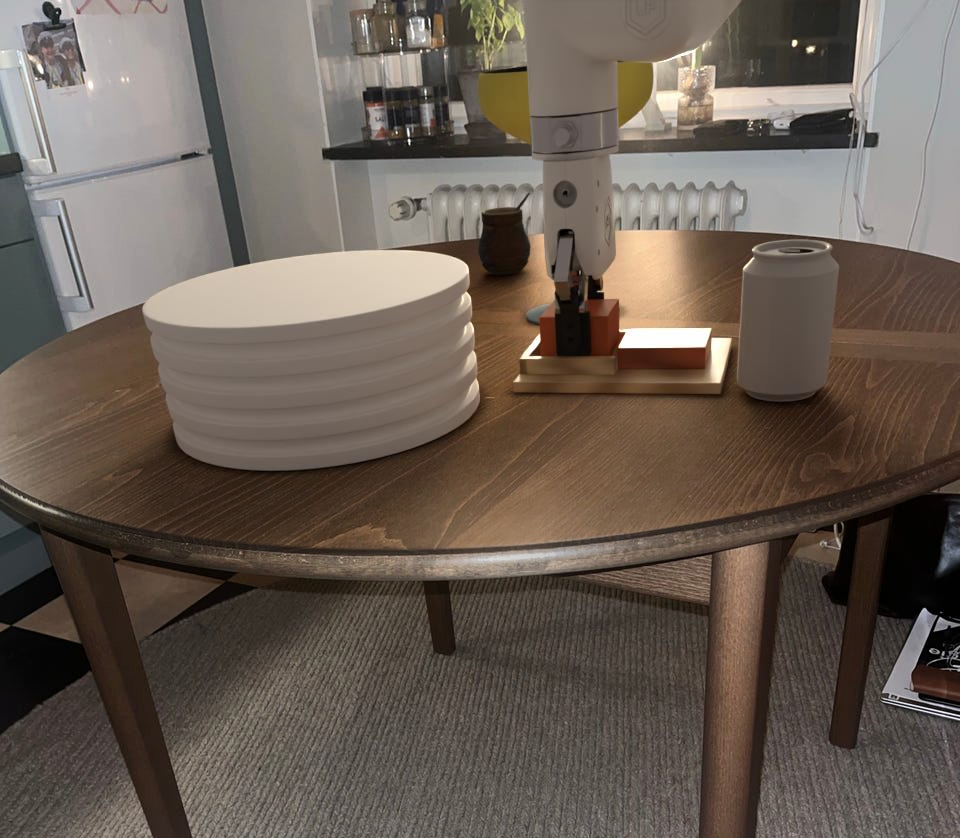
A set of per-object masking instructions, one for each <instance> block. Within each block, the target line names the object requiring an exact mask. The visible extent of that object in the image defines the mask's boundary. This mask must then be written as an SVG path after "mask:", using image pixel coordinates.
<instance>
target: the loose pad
mask: <svg viewBox="0 0 960 838" xmlns="http://www.w3.org/2000/svg"><path fill="white" fill-rule="evenodd" d="M550 303H551V305H550V306H549V307H548V308H547V309H546V310H545V311H544V313H543V314H542V315H541V316H540V317H539V324H538V325H539V334H540V342H541V356H558V355H557V353H556V333H555V299H554V300H552V302H550ZM619 308H620V298H604V299H588V300H587V311H590V319H591V354H590V355H589V356H611V354H612V352H613V351H614V349H615V347H616V345H617V344H618V342H619V340H620V338H619V330H620V310H619Z"/></svg>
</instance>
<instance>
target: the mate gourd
mask: <svg viewBox="0 0 960 838" xmlns="http://www.w3.org/2000/svg"><path fill="white" fill-rule="evenodd" d="M530 194H531V192H527V193H526V194H525V196H524V197H523V199H522V200H521V201H520V202H519V204H518V205H517V206H512V207H511V206H503V207H494V208H488V209H485V210H483V211H481V223H482V230H481V234H480V238H479V241H478V249H477V251H478V256H479V260H480V262H481V265H482V267H483V269H484V270H485V271H487V273H489V275H492V276H509V275H515V274H519V273H521V272H522V271H523V270H524V269H525V267H526V266H527V265H528V264H529V258H530V256H531V242H530V241H531V240H530V238H529V235H528V233H527V232H526V229H525V227H524V223H523V220H524V219H523V218H524V217H523V215H524V214H523V209H522V208H521V207H522V206H524V204H525V202H526V201H527V199H528V198H529V197H530Z"/></svg>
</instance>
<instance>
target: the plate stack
mask: <svg viewBox="0 0 960 838" xmlns="http://www.w3.org/2000/svg"><path fill="white" fill-rule="evenodd" d="M469 270H470V269H469V266H468V264H467V263H465V261H463V260H461V259H460V258H457V257H453V256H452V255H448V254H444V253H438V252H431V251H422V250H408V249H369V250H349V251H334V252H324V253H314V254H305V255H298V256H297V255H296V256H289V257H284V258H277V259H276V258H275V259H270V260H264V261H259V262H253V263H249V264H248V263H247V264H243V265H239V266H234V267H230V268H226V269H221V270H217V271H214V272H210V273H207V274H202V275H200V276H199V275H198V276H195V277H193V278H190V279H187V280H184V281H180V282H179V283H176V284H173V285H171V286H169V287H166V288H164V289H162V290H160V291H159V292H156V293H155V294H153V295H152V296H150V297H149V298H148V299H147V300H146V301H145V302H144V303H143V305H142V308H141V311H142V315H143V319H144V322H145V326H146V328H147V329H148V330H149V332H151V333H152V334H151V335H150V339H149V341H150V346H151V350H152V353H153V357H154V358H155V360H156V362H158V363H159V364H158V366H157V367H158V368H157V372H158V376H159V380H160V384H161V387H162V389H163V390H164V391H165V392H166V394H165V402H166V406H167V410H168V413H169V416H170V418H171V420H172V421H173V422H172V429H173V433H174V437H175V440H176V441H175V442H176V444H177V446H178V447H179V449H181V450H182V451H183V452H184V454H186V455H188V456H190V457H191V458H193V459H195V460H197V461H200V462H203V463H205V464H209V465H212V466H217V467H222V468H229V469H235V470H244V471H245V470H247V471H260V472H261V471H262V472H263V471H264V472H268V471H269V472H276V471H279V472H280V471H281V472H282V471H283V472H284V471H285V472H286V471H301V470H314V469H323V468H332V467H339V466H344V465H351V464H357V463H362V462H367V461H372V460H375V459H380V458H383V457H387V456H391V455H392V456H393V455H395V454H399V453H401V452H405V451H408V450H411V449H415V448H417V447H420V446H422V445H425V444H428V443H430V442H432V441H434V440H437V439H439V438H442V437H443V436H445V435H447V434H448V433H450V432H452V431H454V430H455V429H457V428H459V427H460V426H461V425H463V424H464V423H466V422H467V421H468V420H470V418H471V417H472V416H473V415H474V413H475V412H476V411H477V409H478V408H479V405H480V400H481V396H480V395H481V394H480V386H479V385H480V384H479V381H478V379H477V376H478V361H477V354H476V352H475V351H474V349H475V344H476V338H475V329H474V328H475V327H474V325H473V324H472V322H471V319H472V318H473V303H472V298H471V294H469V293H468V292H467V291H468V290H469V287H470V284H471V283H470V271H469Z"/></svg>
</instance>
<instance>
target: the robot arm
mask: <svg viewBox="0 0 960 838" xmlns="http://www.w3.org/2000/svg"><path fill="white" fill-rule="evenodd" d="M741 2H742V0H523V19H524V20H523V21H524V34H525V35H524V36H525V37H524V39H525V50H526V51H525V52H526V53H525V55H526V66H527V74H528V92H529V110H530V130H531V145H530V147H531V148H530V149H531V159H532V160H534V161H541V162H542V186H541V188H542V213H543V214H542V218H543V219H542V220H543V245H544V260H545V269H546V270H545V271H546V274H547V277H549V278H550V279H551V280H552V281H553V285H554V290H555V291H554V300H555V333H556V353H557V355H558V356H589V355H590V354H591V319H590V311H587V300H588V299H605V291H603V290H604V276H603V275H605V273H606V272H607V271H608V269H610V267H611V265H612V264H613V262H614V261H615V260H616V255H617V242H616V223H615V204H614V203H615V202H614V187H613V186H614V185H613V173H612V162H611V156H610V155H611V154H612V155H613V154H615V153H616V154H617V153H618V152H619V128H618V108H617V107H618V66H617V61H628V62H640V63H653V64H655V63H662V62H663V63H664V62H667V61H670V60H672V59H675V58H678V57H681V56H686V55H688V54H691V53H693V52H696V51H697V50H698V49H700V48H702V46H703V45H705V44H706V43H707V42H708V41H709V40H710V39H711V38H712V37H714V35H715V33H717V32H718V30H719V29H720V28H721V27H722V26H723V24H725V22H726V21H727V20H728V18H729V17H730V16H731V14H732V13H733V12H734V11H735V9H736V8H737V7H738V6H739V5H740V3H741ZM572 285H573V287H572Z"/></svg>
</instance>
